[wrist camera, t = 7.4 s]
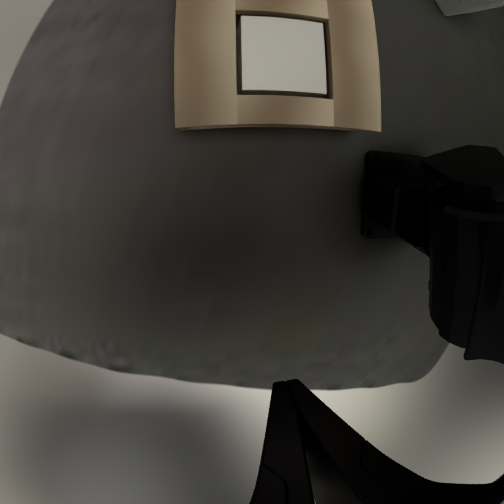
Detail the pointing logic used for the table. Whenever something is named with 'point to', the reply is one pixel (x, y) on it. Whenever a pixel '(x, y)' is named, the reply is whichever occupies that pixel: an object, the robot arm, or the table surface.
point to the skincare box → (466, 6)
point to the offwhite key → (280, 57)
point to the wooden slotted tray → (275, 106)
